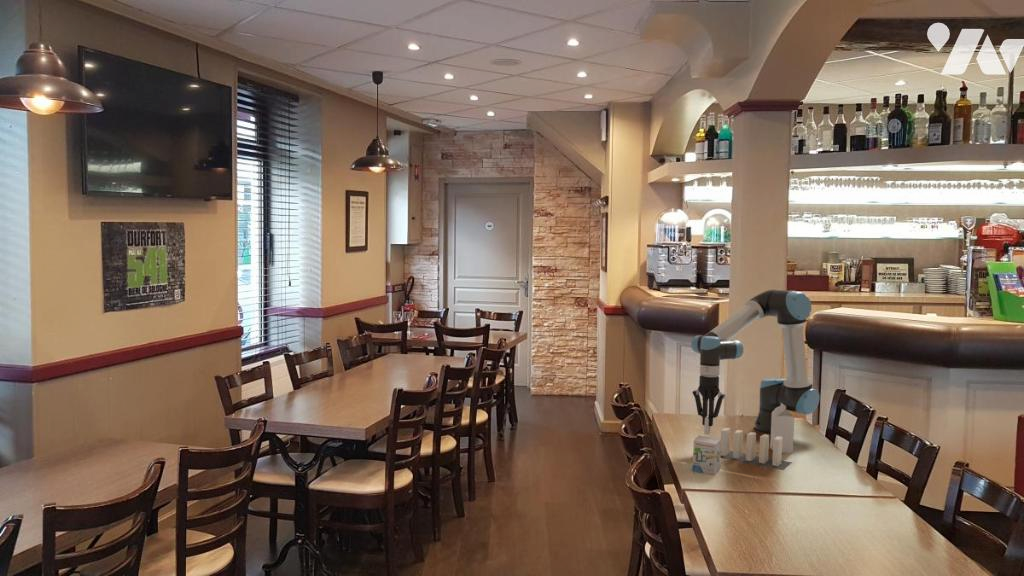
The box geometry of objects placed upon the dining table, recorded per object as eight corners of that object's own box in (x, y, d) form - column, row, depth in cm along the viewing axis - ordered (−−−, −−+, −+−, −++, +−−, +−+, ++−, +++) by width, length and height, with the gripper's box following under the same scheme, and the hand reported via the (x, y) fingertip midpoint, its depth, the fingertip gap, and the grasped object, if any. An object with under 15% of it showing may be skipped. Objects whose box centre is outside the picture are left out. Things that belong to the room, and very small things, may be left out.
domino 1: (737, 454, 286) (738, 429, 285) (742, 455, 284) (743, 430, 284) (732, 457, 282) (733, 432, 281) (738, 458, 280) (739, 433, 280)
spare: (724, 452, 289) (725, 427, 288) (729, 453, 287) (730, 428, 287) (720, 455, 284) (721, 430, 284) (725, 456, 283) (726, 431, 283)
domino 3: (762, 459, 280) (763, 434, 279) (768, 460, 279) (769, 434, 278) (758, 462, 276) (759, 436, 275) (764, 463, 275) (765, 437, 274)
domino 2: (749, 457, 283) (750, 431, 282) (755, 458, 282) (756, 432, 281) (745, 460, 279) (746, 434, 278) (751, 461, 278) (752, 435, 277)
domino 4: (776, 462, 277) (777, 436, 276) (781, 463, 276) (782, 437, 275) (772, 465, 273) (773, 439, 272) (777, 466, 272) (778, 439, 271)
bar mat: (720, 450, 293) (720, 449, 293) (792, 463, 277) (792, 462, 277) (709, 456, 283) (709, 455, 283) (783, 471, 267) (783, 470, 267)
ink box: (691, 471, 265) (692, 440, 264) (697, 465, 272) (698, 434, 272) (715, 475, 261) (716, 443, 260) (720, 469, 268) (721, 438, 268)
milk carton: (787, 448, 297) (789, 403, 296) (792, 453, 290) (795, 406, 289) (770, 448, 298) (772, 402, 296) (774, 452, 291) (776, 406, 289)
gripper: (690, 374, 289) (688, 432, 291) (722, 378, 281) (719, 438, 283) (697, 372, 295) (695, 429, 297) (728, 376, 288) (726, 434, 289)
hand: (707, 433), depth 290 cm, fingers closed
